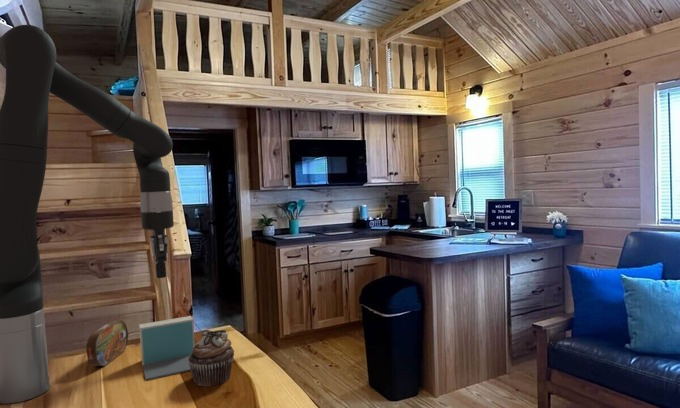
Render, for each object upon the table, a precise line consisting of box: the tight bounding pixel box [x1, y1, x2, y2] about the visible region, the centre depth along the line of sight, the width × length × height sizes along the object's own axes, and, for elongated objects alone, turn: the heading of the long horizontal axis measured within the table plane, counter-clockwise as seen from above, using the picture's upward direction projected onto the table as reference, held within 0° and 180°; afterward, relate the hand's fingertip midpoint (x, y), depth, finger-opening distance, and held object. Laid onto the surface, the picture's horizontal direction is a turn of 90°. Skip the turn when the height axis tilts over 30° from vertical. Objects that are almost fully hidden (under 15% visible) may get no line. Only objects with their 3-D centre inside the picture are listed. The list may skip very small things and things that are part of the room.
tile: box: [138, 315, 196, 366], centre depth 110 cm, size 12×4×9 cm, turn 117°
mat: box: [142, 355, 191, 381], centre depth 105 cm, size 12×8×1 cm
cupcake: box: [188, 329, 235, 387], centre depth 98 cm, size 10×10×10 cm
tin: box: [85, 320, 129, 367], centre depth 111 cm, size 15×3×8 cm, turn 179°
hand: (161, 277), depth 115 cm, fingers closed
